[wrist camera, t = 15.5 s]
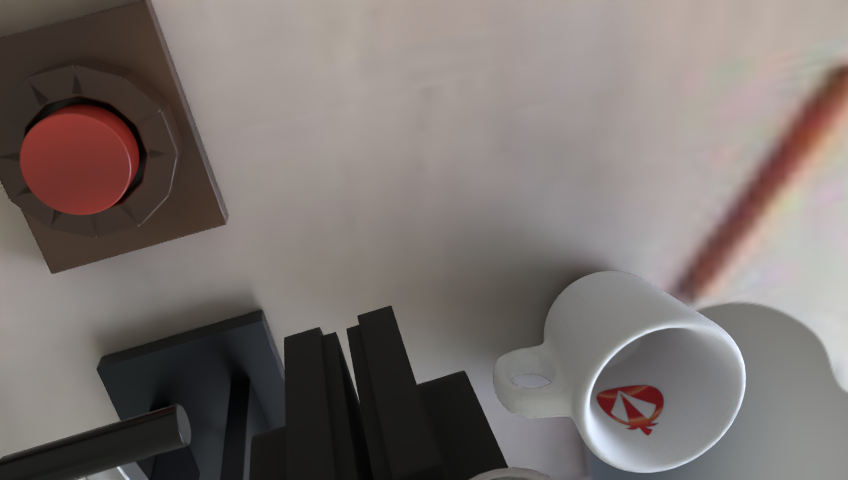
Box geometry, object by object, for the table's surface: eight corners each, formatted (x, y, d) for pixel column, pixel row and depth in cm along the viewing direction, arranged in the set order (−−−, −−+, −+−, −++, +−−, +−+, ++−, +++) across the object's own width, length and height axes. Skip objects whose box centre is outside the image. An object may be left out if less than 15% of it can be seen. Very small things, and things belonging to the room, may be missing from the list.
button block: (-43, 48, 32) (-75, 58, 29) (150, -2, 32) (137, 2, 29) (58, 264, 35) (38, 293, 32) (228, 216, 36) (224, 239, 33)
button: (16, 119, 30) (0, 129, 29) (117, 92, 31) (107, 100, 29) (58, 212, 32) (45, 227, 30) (154, 185, 32) (146, 199, 30)
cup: (479, 407, 42) (521, 504, 35) (465, 274, 39) (508, 349, 32) (666, 370, 43) (745, 456, 36) (666, 239, 41) (752, 303, 33)
